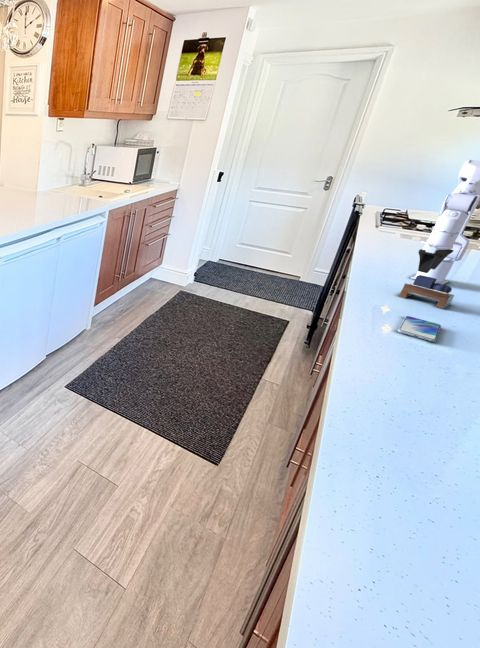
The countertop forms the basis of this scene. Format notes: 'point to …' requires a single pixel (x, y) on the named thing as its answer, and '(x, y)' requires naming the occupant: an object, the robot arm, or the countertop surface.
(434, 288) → the trainer
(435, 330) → the smartphone
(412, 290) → the shoe shelf
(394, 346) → the countertop surface
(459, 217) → the robot arm
